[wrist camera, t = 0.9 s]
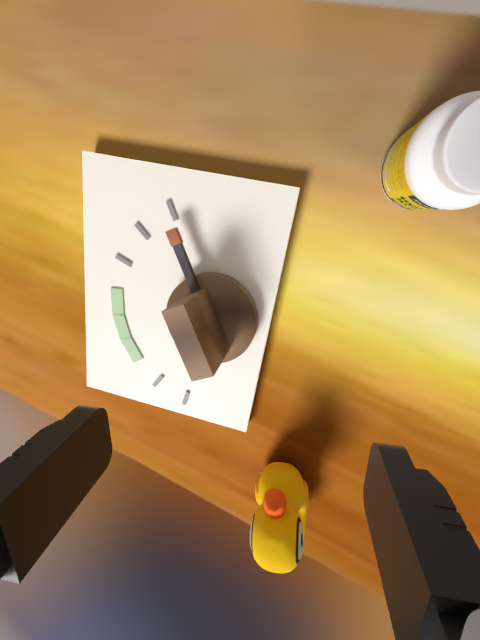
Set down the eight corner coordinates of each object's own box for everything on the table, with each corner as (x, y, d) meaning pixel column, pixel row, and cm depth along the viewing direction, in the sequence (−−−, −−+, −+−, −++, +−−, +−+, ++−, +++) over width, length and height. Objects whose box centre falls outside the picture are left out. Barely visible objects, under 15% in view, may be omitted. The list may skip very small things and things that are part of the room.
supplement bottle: (375, 212, 23) (416, 212, 14) (382, 130, 22) (434, 72, 12) (455, 208, 22) (555, 206, 13) (470, 122, 20) (597, 50, 11)
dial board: (300, 188, 24) (299, 187, 22) (248, 422, 32) (245, 433, 31) (94, 153, 26) (80, 150, 25) (95, 379, 35) (85, 386, 33)
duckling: (255, 428, 32) (233, 515, 23) (307, 432, 31) (306, 525, 22) (262, 509, 36) (246, 611, 27) (309, 514, 35) (309, 625, 25)
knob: (270, 346, 27) (259, 382, 21) (191, 365, 29) (162, 402, 24) (222, 210, 24) (194, 210, 18) (139, 244, 26) (92, 253, 21)
